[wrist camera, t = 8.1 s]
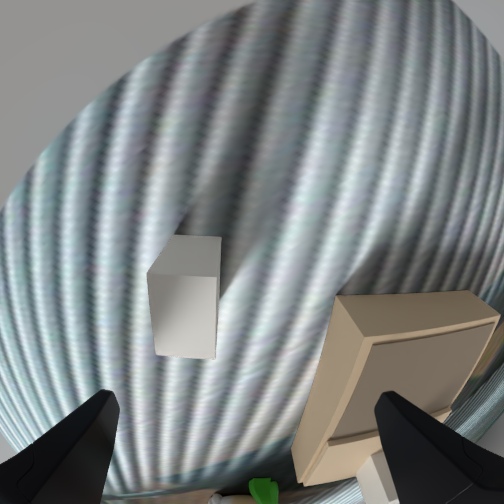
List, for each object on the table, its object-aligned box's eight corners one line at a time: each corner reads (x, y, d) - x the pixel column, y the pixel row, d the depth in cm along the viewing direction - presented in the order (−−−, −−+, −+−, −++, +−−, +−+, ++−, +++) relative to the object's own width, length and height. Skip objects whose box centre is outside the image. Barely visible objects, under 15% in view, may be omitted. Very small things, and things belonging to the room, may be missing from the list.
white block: (307, 234, 12) (344, 275, 8) (288, 350, 14) (305, 413, 10) (99, 224, 11) (45, 259, 7) (116, 339, 13) (87, 396, 9)
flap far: (449, 406, 12) (477, 449, 8) (410, 454, 15) (428, 492, 10) (327, 441, 12) (347, 506, 8) (303, 482, 14) (313, 530, 10)
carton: (468, 289, 13) (501, 315, 10) (397, 427, 18) (411, 455, 15) (335, 295, 13) (365, 338, 9) (290, 448, 17) (298, 483, 14)
